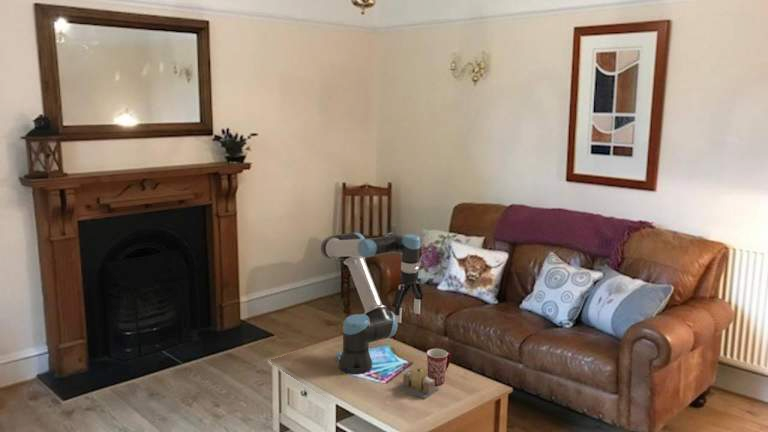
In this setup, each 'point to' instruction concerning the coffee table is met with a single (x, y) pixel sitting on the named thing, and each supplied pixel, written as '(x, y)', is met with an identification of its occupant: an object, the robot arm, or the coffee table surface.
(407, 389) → the shaft bench
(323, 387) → the coffee table surface
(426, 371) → the coupler
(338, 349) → the coffee table surface
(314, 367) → the coffee table surface
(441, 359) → the mug
